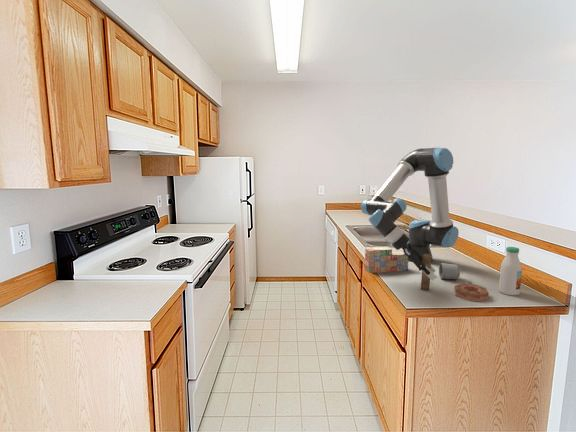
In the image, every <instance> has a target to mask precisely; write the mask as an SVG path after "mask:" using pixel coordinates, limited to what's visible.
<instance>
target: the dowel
mask: <svg viewBox="0 0 576 432" xmlns="http://www.w3.org/2000/svg"><path fill="white" fill-rule="evenodd" d="M422 262H423V264H424V265H425V266H427V267H428V268H429V269H430V270H431V266H432V261H431V255H430V254H423V255H422ZM430 288H431V279H430V278H429V277H428V276H427V275H426V274H425V273H424V272H423V271H422V270H421V284H420V290H422V291H425V292H426V291H427V292H428V291H430V290H431V289H430Z"/></svg>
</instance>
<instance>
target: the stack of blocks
mask: <svg viewBox="0 0 576 432" xmlns="http://www.w3.org/2000/svg"><path fill="white" fill-rule="evenodd" d="M403 251H404V250H402V251H398V250H396V251H393V249H392V248H390V247H389V246H374V247H373V246H372V247H365V250H364V253H365V254H364V259H365V260H364V262H365V263H364V269H365V271H367V273H368V274H370V273H371V274H372V273H373V274H375V273H389V272H393V273H394V272H408V271H409V261H408V257H407V256H406V255H405V254H404V252H403Z"/></svg>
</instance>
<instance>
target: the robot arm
mask: <svg viewBox="0 0 576 432" xmlns="http://www.w3.org/2000/svg"><path fill="white" fill-rule="evenodd" d="M453 165H454V157H453V154H452V152H451V151H450V150H449V149H448V148H446V147H430V148H429V147H428V148H417V149H415V150H412V151H410V152H409V153H407V154H406V155H405V156H404V157H402V159H400V161H399V162H398V163H397V166H396V168H395V170H394V171H393V172H392V173H391V175H389V177H388V178H387V179H386V180H385V181H384V183H383V184H381V186H380V188H379V189H378V190H377V191H376V192H375V193H374V195H372V197H371V198H370V199H364V200H363V201H362V202H361V205H360V210H361V213H362V214H365V215H368V216H369V218H368V222H369V223H370V224H371V226H372V227H373V228H374V229H376V231H377V232H379V233H380V234H381V235H382V236H383V237H384V238H385V239H384V240H385V241H387V242H388V243H390V244H391V246H392V247H393V248H394V249H395V250H396V251H398V250H401V249H402V251H403V252H404V254H405V255H406V256H407V257H408V262H411V263H413V264H414V266H416V267H417V268H418V272H422V271H423V272H424V273H425V274H426V275H427V276H428V277H429V278H430V281H432V282H433V281H434V280H436V279H437V278H438V276H437V275H436V274H435V273H436V271H437V270H436V269H435V268H434V267H433V266H432V265H431V270H430V269H429V268H428V267H427V266H425V265H424V264H423V262H422V255H423V254H430V255H431V262H432V261H433V254H432V249H431V246H438V247H442V248H452V247H453V246H454V245H456V242H457V241H458V238H459V229H458V227H456V226H454V222H453V221H452V220H451V219H450V209H449V196H448V185H447V175H449V174H450V171H451V170H452V169H453ZM419 171H420V172H424V177H426V178H427V181H428V190H429V191H428V192H429V198H430V199H429V200H430V211H431V219H418V220H417V219H416V220H412V221H410V222H409V225H408V227H409V228H408V236H407V234H405V233H403V231H402V229H400V227H398V225H397V224H395V222H396V221H397V220H398V219H399V218H400V217H401V216H402V215H403V214H404V213H405V212H406V210H407V207H408V206H407V204H406V202H405V200H403V199H401V198H398V197H397V198H396V197H395V198H394V199H393V200H391V199H392V197H394V196H395V194H396V192H397V191H398V190H399V189H400V187H401V186H403V184H404V183H405V182H406V180H407V179H408V178H409V177H410V176H413V175H414V174H415V173H416V172H419ZM390 200H391V201H390Z"/></svg>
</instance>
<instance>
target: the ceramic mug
mask: <svg viewBox="0 0 576 432" xmlns="http://www.w3.org/2000/svg"><path fill="white" fill-rule="evenodd" d="M438 274H439V275H438V276H439V278H440V280H458V279H459V277H460V275H461V270H460V265H458V264H455V263H444V262H441V263H439V267H438Z"/></svg>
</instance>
